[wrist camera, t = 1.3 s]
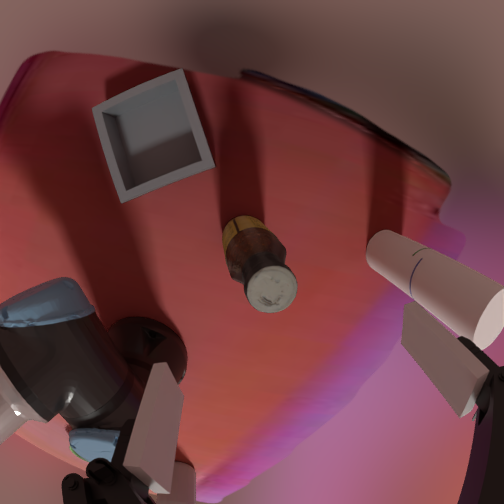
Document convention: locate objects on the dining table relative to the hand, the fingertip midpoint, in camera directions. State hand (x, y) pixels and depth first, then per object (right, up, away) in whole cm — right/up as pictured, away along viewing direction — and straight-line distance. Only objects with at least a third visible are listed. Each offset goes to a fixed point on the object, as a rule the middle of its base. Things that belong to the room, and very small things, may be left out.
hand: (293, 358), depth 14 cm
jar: (-22, -52, +43) cm, 71 cm away
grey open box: (-15, +21, +21) cm, 33 cm away
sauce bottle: (-3, +8, +26) cm, 28 cm away
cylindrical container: (+20, +6, +30) cm, 36 cm away
